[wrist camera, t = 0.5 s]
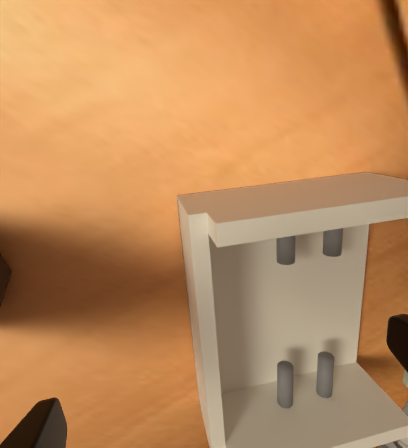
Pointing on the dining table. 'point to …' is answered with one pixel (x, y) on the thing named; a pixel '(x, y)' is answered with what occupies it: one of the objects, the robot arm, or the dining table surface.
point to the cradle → (286, 311)
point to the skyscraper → (402, 446)
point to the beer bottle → (3, 277)
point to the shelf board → (405, 378)
